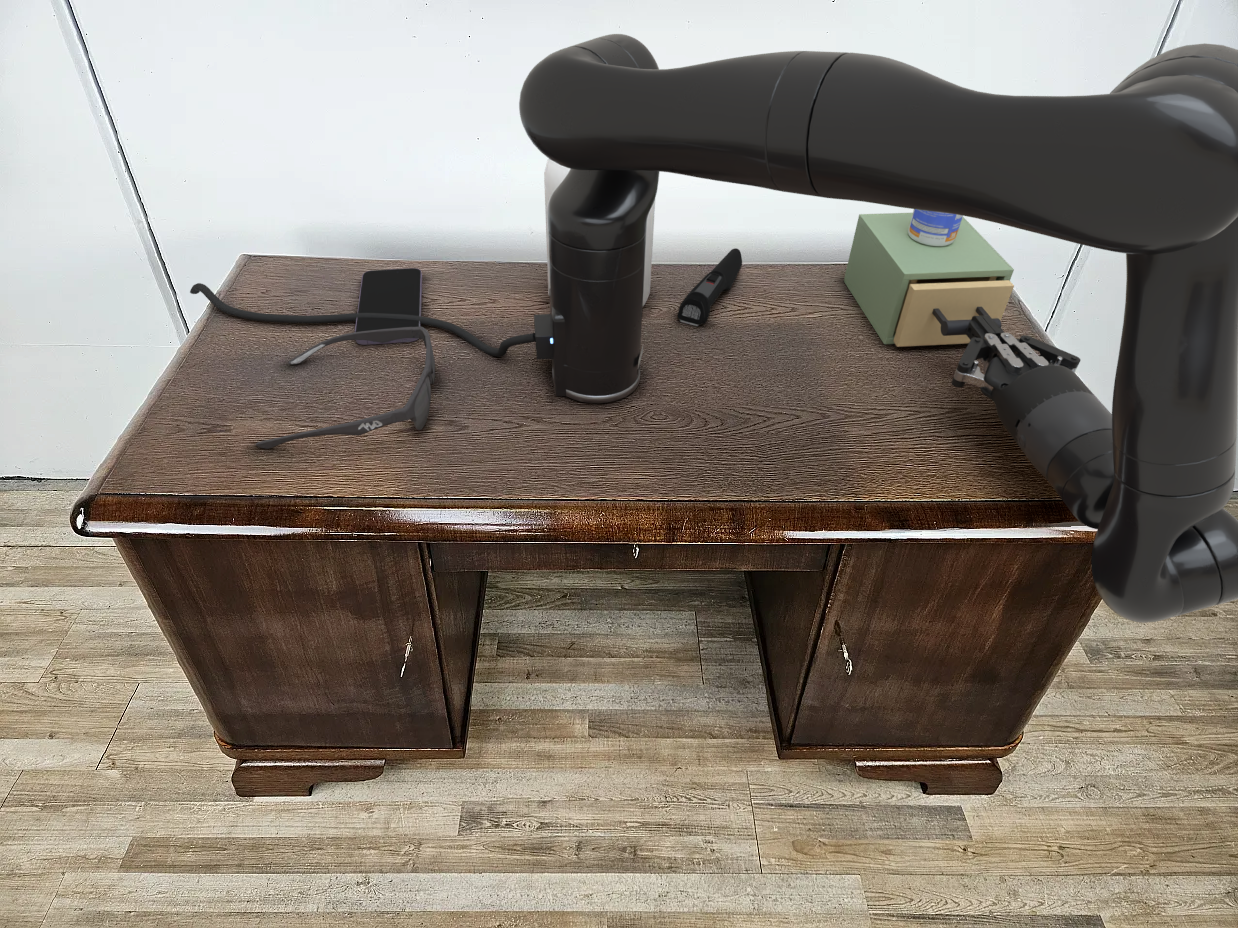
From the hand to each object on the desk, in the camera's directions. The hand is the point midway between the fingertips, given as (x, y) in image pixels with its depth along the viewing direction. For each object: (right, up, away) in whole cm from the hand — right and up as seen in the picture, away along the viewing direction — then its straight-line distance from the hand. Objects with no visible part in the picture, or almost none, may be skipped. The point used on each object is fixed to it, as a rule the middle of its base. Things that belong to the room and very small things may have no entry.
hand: (976, 323), depth 86 cm
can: (-40, +6, +15) cm, 43 cm away
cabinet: (-2, +4, +14) cm, 15 cm away
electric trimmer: (-26, +6, +16) cm, 31 cm away
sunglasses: (-65, -9, -2) cm, 65 cm away
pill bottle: (-1, +11, +9) cm, 15 cm away
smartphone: (-65, +4, +11) cm, 66 cm away
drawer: (-1, +2, +10) cm, 11 cm away
